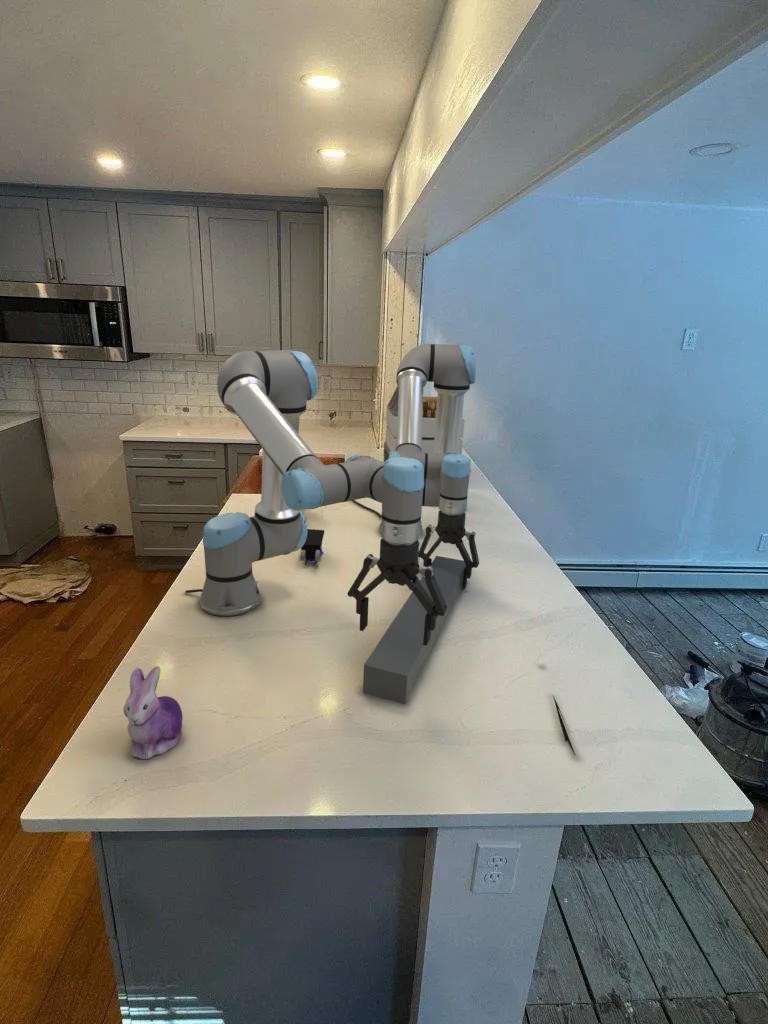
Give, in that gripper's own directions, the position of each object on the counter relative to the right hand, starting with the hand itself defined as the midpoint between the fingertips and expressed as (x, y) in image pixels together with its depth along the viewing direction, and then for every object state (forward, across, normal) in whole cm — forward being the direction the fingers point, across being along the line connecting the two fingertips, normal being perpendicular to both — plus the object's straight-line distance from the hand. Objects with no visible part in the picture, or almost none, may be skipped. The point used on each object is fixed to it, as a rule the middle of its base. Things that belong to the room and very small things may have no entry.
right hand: (445, 583), depth 163 cm
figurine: (+1, -33, -81) cm, 87 cm away
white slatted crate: (+1, -40, +112) cm, 119 cm away
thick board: (+1, 0, -24) cm, 24 cm away
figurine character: (+1, -43, +1) cm, 43 cm away
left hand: (-11, 0, -49) cm, 50 cm away
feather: (+1, +33, -43) cm, 55 cm away
